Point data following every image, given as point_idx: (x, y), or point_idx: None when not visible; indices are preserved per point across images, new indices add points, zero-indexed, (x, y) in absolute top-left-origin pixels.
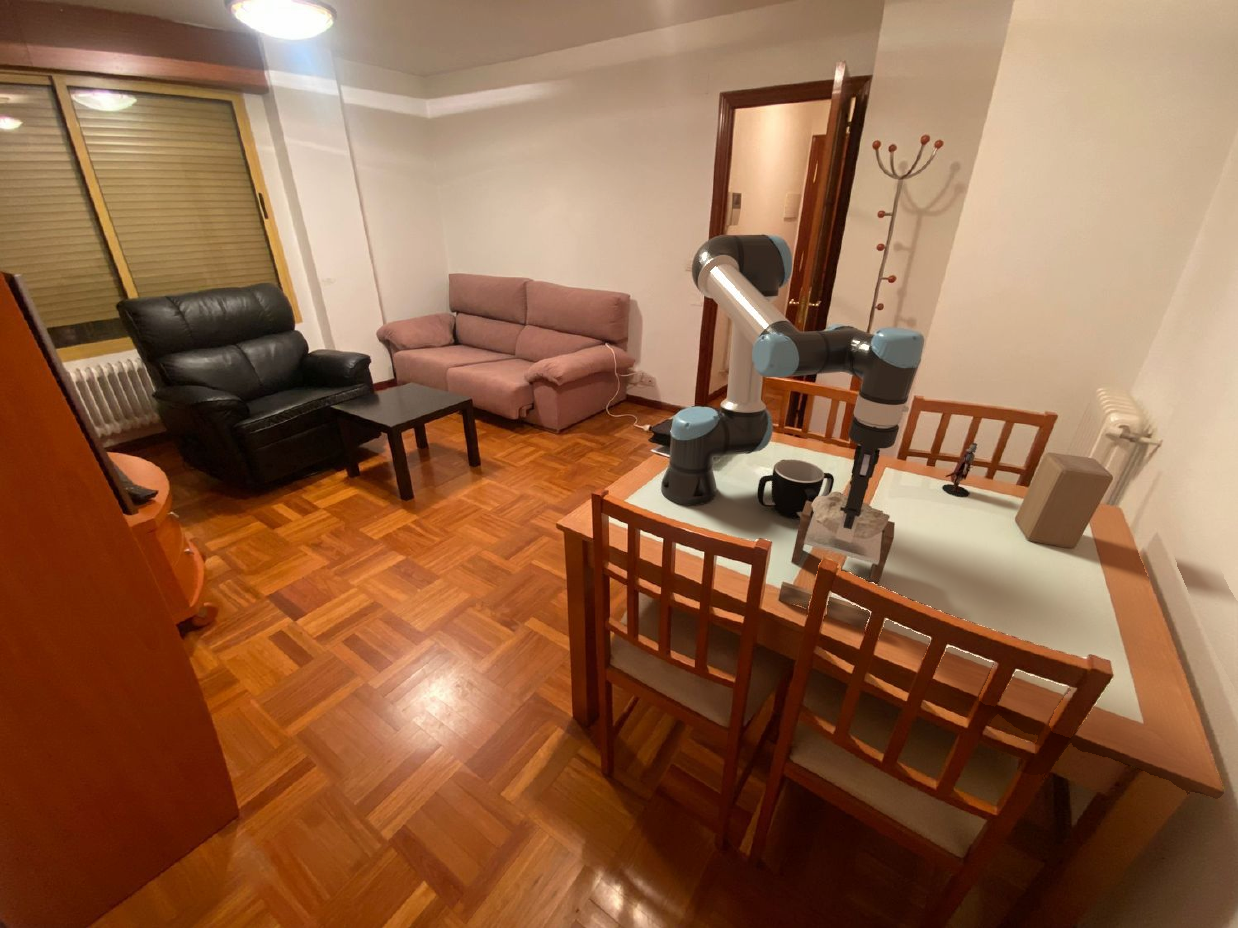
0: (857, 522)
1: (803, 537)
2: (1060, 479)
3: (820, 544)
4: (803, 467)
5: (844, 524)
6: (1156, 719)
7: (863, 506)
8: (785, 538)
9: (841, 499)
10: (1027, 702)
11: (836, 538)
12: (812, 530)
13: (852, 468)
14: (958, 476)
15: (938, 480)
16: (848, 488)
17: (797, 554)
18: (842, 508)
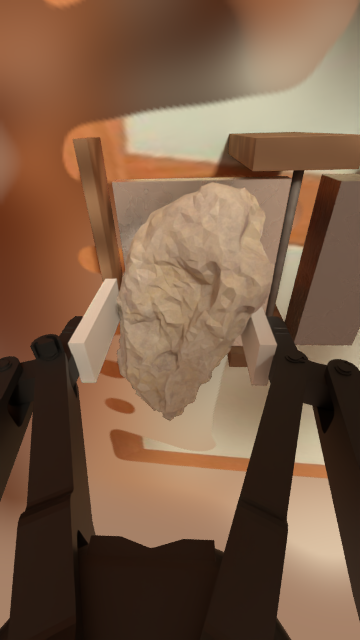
0: (127, 347)
1: (238, 157)
2: None
3: (119, 229)
4: None
5: (66, 325)
6: (153, 454)
7: (192, 369)
8: (332, 90)
9: (208, 311)
10: (113, 403)
11: (104, 280)
12: (175, 195)
13: (17, 556)
14: None
15: None
16: (260, 343)
17: (231, 147)
18: (34, 350)
